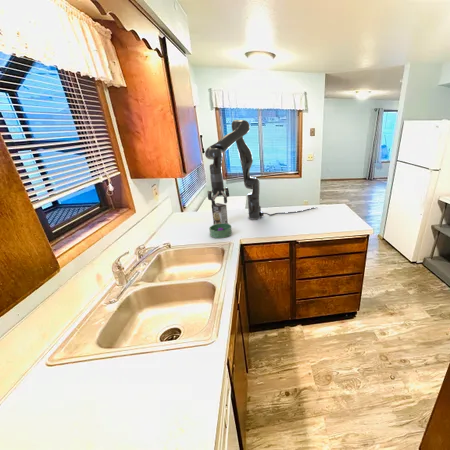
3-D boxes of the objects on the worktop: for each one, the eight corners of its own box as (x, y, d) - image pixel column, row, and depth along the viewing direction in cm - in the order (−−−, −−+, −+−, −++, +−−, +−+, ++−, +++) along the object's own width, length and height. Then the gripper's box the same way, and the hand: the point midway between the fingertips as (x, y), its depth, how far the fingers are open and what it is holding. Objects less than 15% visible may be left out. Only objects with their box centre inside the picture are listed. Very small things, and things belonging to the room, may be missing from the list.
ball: (222, 232, 166) (221, 226, 165) (225, 233, 163) (225, 227, 162) (216, 233, 163) (215, 227, 161) (220, 235, 160) (219, 229, 159)
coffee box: (213, 225, 180) (210, 204, 174) (219, 222, 186) (217, 202, 180) (222, 227, 176) (220, 206, 171) (228, 224, 182) (226, 204, 176)
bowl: (224, 229, 173) (224, 222, 171) (236, 234, 164) (235, 226, 162) (206, 234, 163) (205, 227, 161) (217, 240, 154) (216, 232, 152)
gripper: (209, 182, 146) (213, 208, 152) (229, 179, 156) (232, 203, 162) (203, 181, 151) (207, 205, 157) (223, 178, 161) (226, 201, 167)
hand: (219, 204), depth 160 cm, fingers open, 8 cm apart
